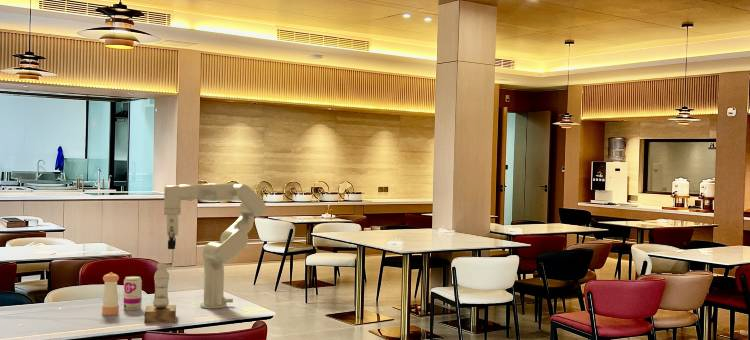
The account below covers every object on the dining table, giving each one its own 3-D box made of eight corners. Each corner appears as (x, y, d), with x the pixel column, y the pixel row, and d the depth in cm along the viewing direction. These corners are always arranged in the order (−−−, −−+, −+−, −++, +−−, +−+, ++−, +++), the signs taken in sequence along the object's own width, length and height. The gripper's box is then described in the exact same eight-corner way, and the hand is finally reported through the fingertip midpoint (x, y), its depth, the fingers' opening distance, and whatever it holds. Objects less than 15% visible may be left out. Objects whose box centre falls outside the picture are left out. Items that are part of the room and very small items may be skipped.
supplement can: (135, 310, 354) (136, 279, 354) (120, 309, 356) (120, 278, 355) (144, 307, 362) (145, 276, 362) (129, 306, 364) (129, 275, 363)
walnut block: (175, 315, 345) (175, 305, 345) (175, 322, 332) (175, 310, 332) (146, 316, 342) (146, 305, 342) (144, 323, 329) (144, 311, 329)
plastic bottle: (154, 306, 340) (155, 262, 340) (170, 306, 340) (170, 262, 340) (151, 309, 333) (152, 264, 333) (167, 309, 334) (167, 265, 334)
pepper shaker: (122, 312, 349) (122, 271, 349) (111, 315, 342) (112, 274, 342) (109, 311, 352) (109, 270, 351) (98, 314, 345) (99, 272, 344)
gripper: (180, 213, 345) (179, 250, 345) (180, 210, 362) (180, 245, 362) (163, 212, 343) (162, 250, 344) (164, 210, 360) (164, 245, 360)
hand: (171, 247), depth 353 cm, fingers open, 9 cm apart
